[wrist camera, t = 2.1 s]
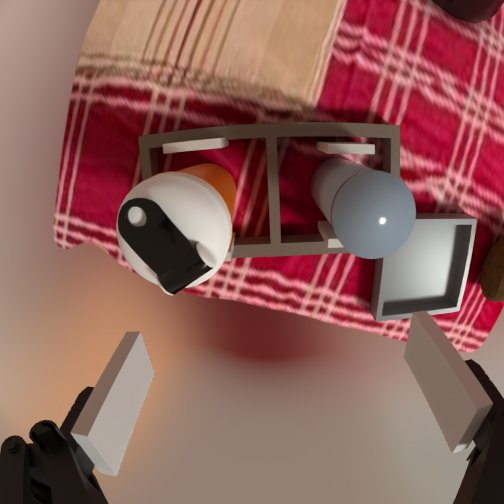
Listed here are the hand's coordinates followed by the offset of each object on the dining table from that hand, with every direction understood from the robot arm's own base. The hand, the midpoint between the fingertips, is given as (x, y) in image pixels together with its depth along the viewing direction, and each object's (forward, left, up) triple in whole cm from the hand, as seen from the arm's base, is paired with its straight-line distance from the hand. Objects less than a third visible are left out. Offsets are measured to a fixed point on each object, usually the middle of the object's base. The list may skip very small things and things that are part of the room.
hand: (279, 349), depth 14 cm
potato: (+8, +37, -28) cm, 46 cm away
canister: (-3, +9, -27) cm, 29 cm away
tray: (+8, +22, -27) cm, 36 cm away
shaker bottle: (-3, -7, -27) cm, 29 cm away
